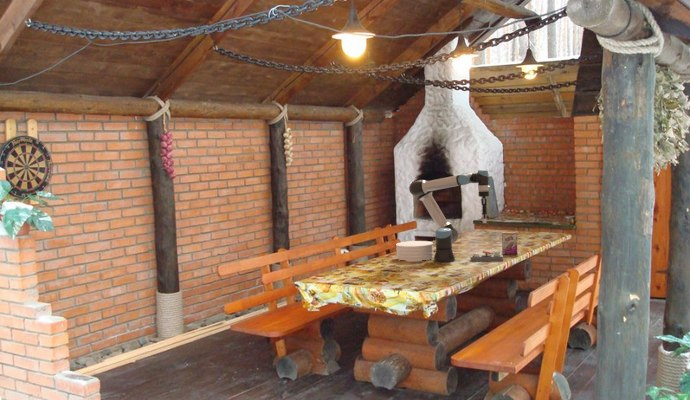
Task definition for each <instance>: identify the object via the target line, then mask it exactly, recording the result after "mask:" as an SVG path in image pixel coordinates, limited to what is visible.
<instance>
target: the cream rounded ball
mask: <svg viewBox="0 0 690 400" xmlns="http://www.w3.org/2000/svg"><path fill="white" fill-rule="evenodd" d="M479 255H480V254H479V253H478V252H473V257H479Z"/></svg>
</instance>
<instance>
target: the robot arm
mask: <svg viewBox="0 0 690 400" xmlns="http://www.w3.org/2000/svg"><path fill="white" fill-rule="evenodd" d="M469 184H478V185H477V188H478V197H480V201H481V206H482V213H481V215H482V224H487V221H488V220H487V214H488V212H487V200H488V198H486V197H490V191H489V189H490V185H489V170H488V169H479V170H477V172H464V173H462V174H458V175H453V176H448V177H442V178H437V179H432V180H425V179H418V180H414V181H412V182H411V183H410V184H409V187H408V191H409V193H410V194H411V195H412V196H414V197H417V199H418V200H419V201H421V202H422V204H423V205H424V207H425V208H426V210H427V212H428V214H429V215H430V217H431V219H432V220H433V222H434V223H435V225H436V227H437V229H436V230H435V234H434V235H435V253H434V255H433V256H434V258H433V261H434V262H437V263H450V262H455V261H456V257H455V254H454V251H453V244H454V243H456V241H457V240H458V238H459V235H460V234H459V231H458V229H456V227H454V226H453V224H452V223H451V222H448V220H447V219H446V217H445V215H444V213H443V211H442V210H441V208H440V206H439V205H438V203H437V202H436V200H435V197H433V192H434V191H438V190H443V189H449V188H452V187H453V188H454V187H458V186H466V185H469Z"/></svg>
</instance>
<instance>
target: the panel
mask: <svg viewBox="0 0 690 400" xmlns="http://www.w3.org/2000/svg"><path fill="white" fill-rule="evenodd" d="M503 255H504V254H500V256H495V255H494V254H486V253H484V254H483V255H482V254H479V257H473V255H470V257H469V258H470V262H503V261H504V256H503Z"/></svg>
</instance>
